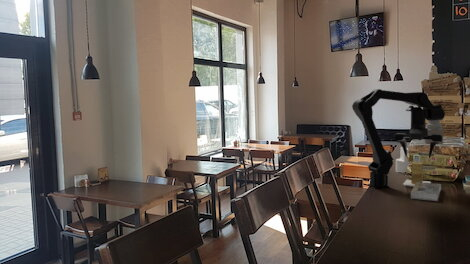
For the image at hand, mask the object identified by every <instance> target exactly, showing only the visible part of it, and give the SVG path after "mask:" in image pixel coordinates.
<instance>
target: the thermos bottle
mask: <svg viewBox="0 0 470 264" xmlns="http://www.w3.org/2000/svg"><path fill="white" fill-rule="evenodd" d="M427 121H428V120H427ZM442 127H443V124H442V123H441V120H434V121H428V122H427V123H426V125H425V128H428V135H432V134H442V135H443V136H444V128H442ZM431 141H432V140H427V139H424V143H426V144H431ZM438 144H443V145H444V140H443V141H442V142H439V143H438Z"/></svg>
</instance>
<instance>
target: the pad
mask: <svg viewBox="0 0 470 264" xmlns="http://www.w3.org/2000/svg"><path fill="white" fill-rule="evenodd" d="M423 183H432V182H431V181H427V180H423ZM402 186H405V187H414V186H415V184H412V183H411V179H405V181H404V182H403V183H402Z"/></svg>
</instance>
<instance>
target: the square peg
mask: <svg viewBox="0 0 470 264" xmlns="http://www.w3.org/2000/svg"><path fill="white" fill-rule="evenodd" d="M423 174H424V161H422V162H421V161H415V162H412V173H411V179H410V180H411V183H412V184H416V182H423V181H424V179H423V178H424V177H423Z"/></svg>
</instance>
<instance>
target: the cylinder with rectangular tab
mask: <svg viewBox="0 0 470 264" xmlns="http://www.w3.org/2000/svg"><path fill="white" fill-rule="evenodd" d="M399 151H400V155H399V156H400V157H399V158H396V159H395V172H396V173H398V172H401V173H400V174H406V173H405V172H406V169H407V166H408V164H409V162H408V159H407V156H405V153H404V150H403V147H402V146H400V150H399ZM407 153H408V147H407Z"/></svg>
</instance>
